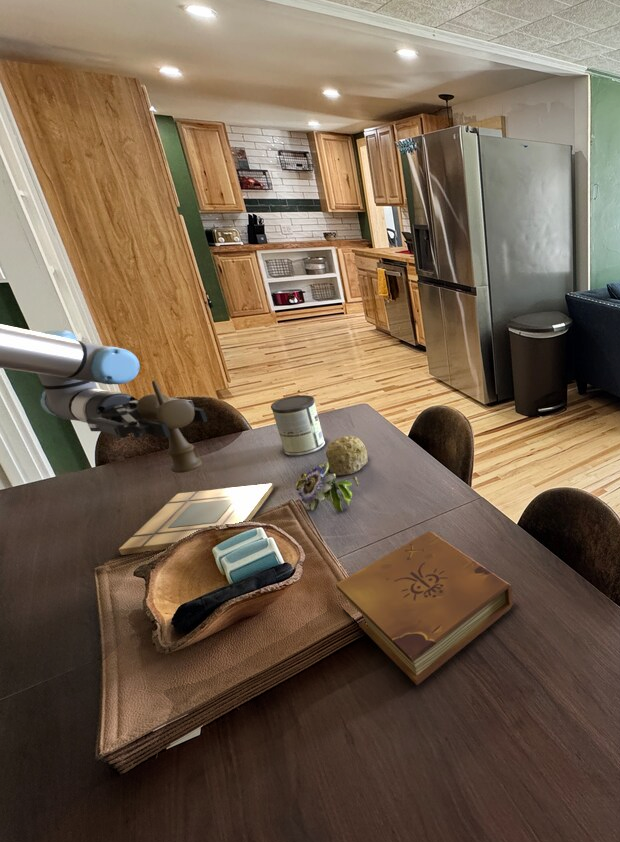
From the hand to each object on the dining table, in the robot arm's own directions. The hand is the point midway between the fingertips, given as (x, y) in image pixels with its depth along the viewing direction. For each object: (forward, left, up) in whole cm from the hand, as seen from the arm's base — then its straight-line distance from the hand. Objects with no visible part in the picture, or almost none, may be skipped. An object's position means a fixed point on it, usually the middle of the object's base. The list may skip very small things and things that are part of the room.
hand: (185, 422), depth 94 cm
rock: (+21, +21, -24) cm, 38 cm away
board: (-4, +3, -24) cm, 25 cm away
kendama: (-4, +3, -12) cm, 13 cm away
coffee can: (+6, +35, -24) cm, 43 cm away
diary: (+47, -34, -24) cm, 63 cm away
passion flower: (+21, +4, -24) cm, 32 cm away
